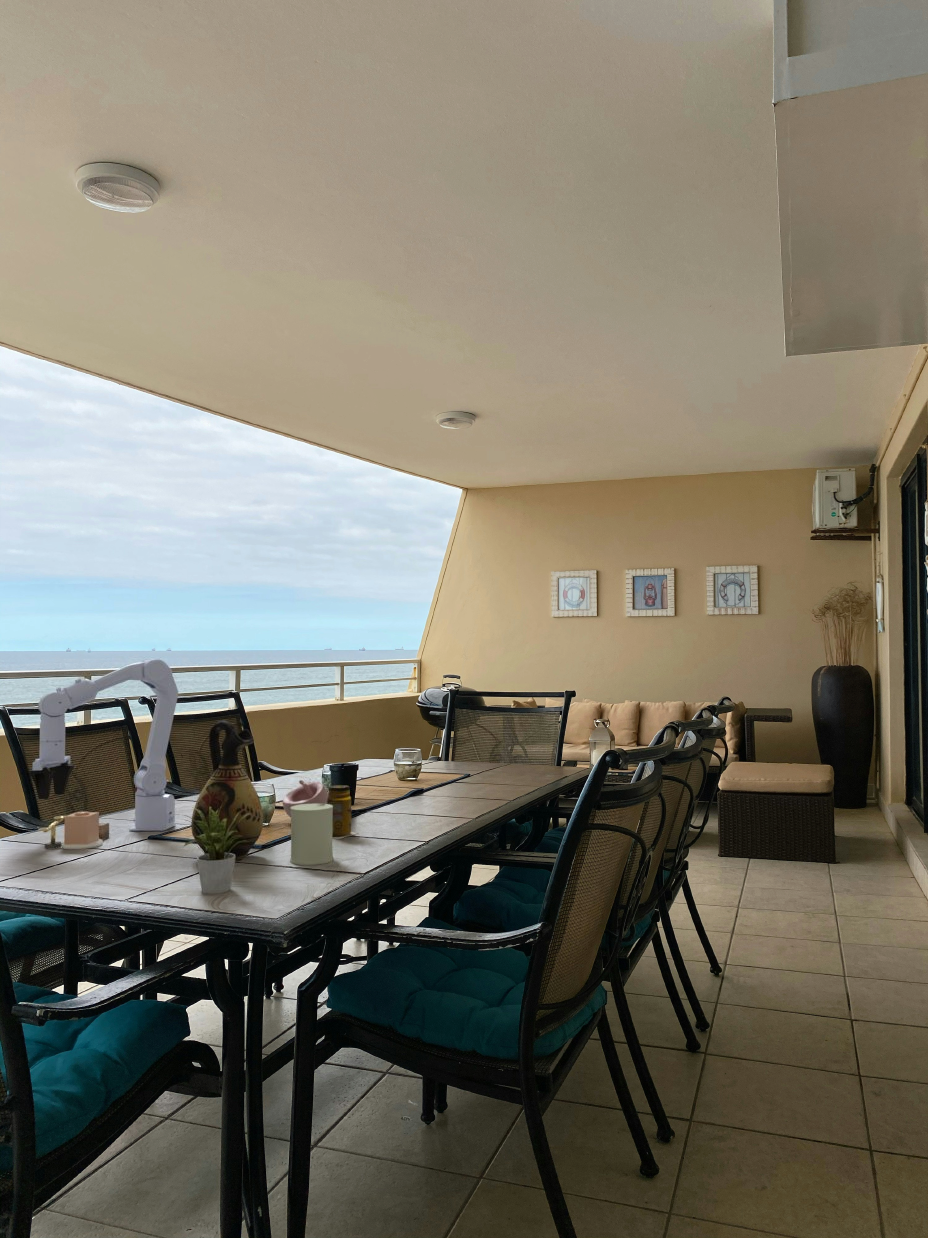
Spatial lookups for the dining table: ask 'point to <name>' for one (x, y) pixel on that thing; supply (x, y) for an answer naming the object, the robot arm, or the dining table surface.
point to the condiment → (340, 811)
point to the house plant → (215, 853)
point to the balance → (52, 832)
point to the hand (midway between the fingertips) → (51, 796)
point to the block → (103, 830)
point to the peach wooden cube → (81, 828)
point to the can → (311, 834)
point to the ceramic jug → (230, 792)
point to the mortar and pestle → (305, 795)
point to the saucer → (82, 845)
